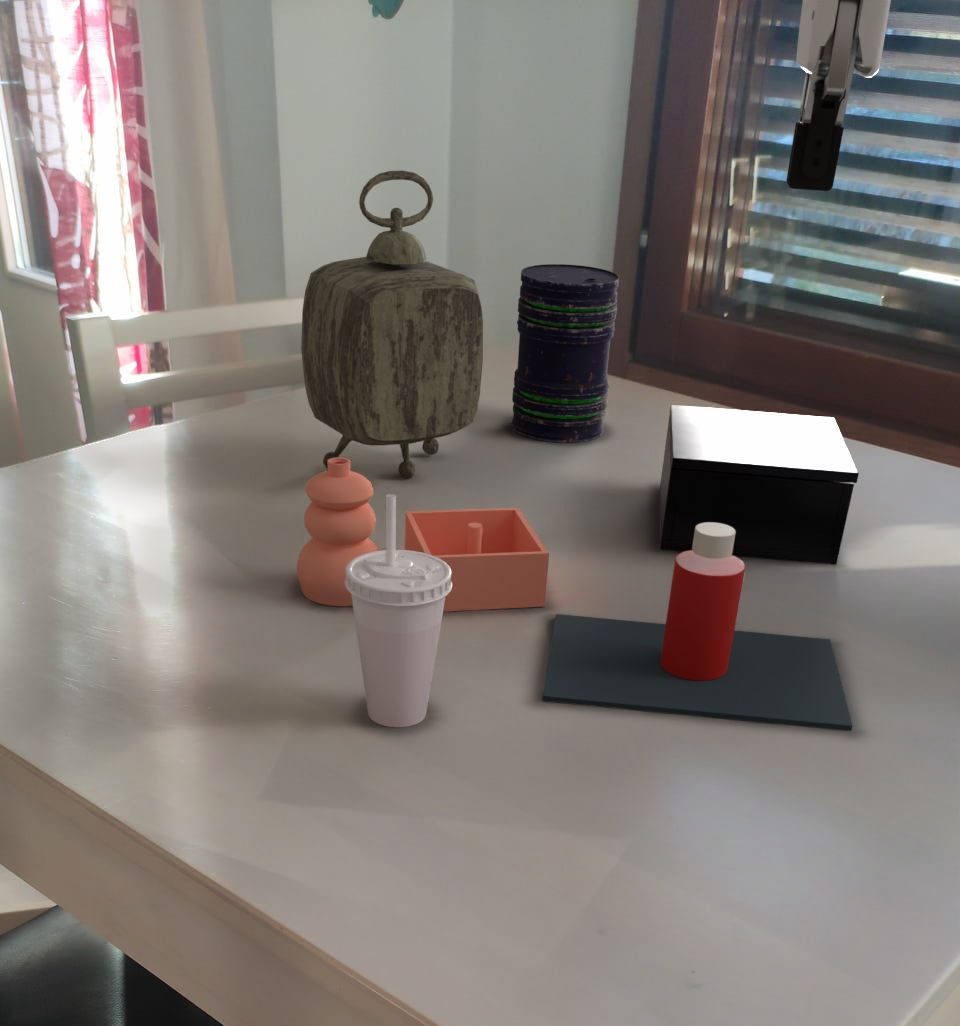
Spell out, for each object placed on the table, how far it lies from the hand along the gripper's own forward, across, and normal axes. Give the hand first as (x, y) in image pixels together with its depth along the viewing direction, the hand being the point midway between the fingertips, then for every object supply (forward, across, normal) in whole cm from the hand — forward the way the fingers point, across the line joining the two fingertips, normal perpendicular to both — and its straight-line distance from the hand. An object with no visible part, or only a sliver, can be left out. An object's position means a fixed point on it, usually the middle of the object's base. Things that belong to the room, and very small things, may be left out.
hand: (808, 187), depth 91 cm
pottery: (+27, -15, +26) cm, 41 cm away
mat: (+27, -25, +5) cm, 37 cm away
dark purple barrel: (+27, +29, +18) cm, 44 cm away
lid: (+20, +5, 0) cm, 21 cm away
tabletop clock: (+27, +11, +32) cm, 43 cm away
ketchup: (+27, -25, +5) cm, 37 cm away
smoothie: (+27, -35, +24) cm, 50 cm away
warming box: (+27, +5, 0) cm, 28 cm away
